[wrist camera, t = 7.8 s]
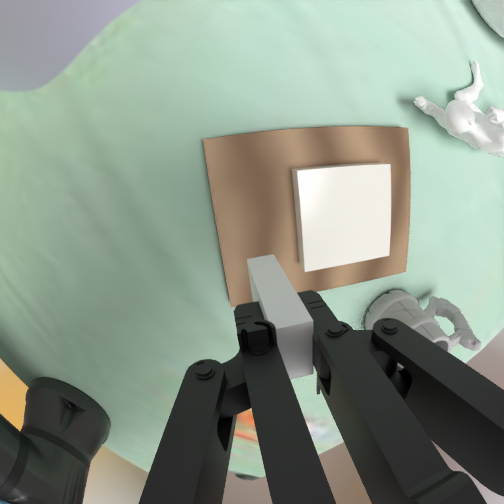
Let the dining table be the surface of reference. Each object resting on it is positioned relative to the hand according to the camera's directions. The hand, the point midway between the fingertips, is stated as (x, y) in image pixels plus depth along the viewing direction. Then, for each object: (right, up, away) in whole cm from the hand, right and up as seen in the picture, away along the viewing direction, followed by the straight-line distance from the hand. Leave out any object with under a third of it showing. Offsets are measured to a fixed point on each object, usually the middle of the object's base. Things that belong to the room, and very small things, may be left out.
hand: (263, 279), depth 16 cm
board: (+6, +5, +11) cm, 14 cm away
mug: (+19, -6, +17) cm, 26 cm away
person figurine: (+25, +18, +9) cm, 32 cm away
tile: (+3, +4, +9) cm, 10 cm away
